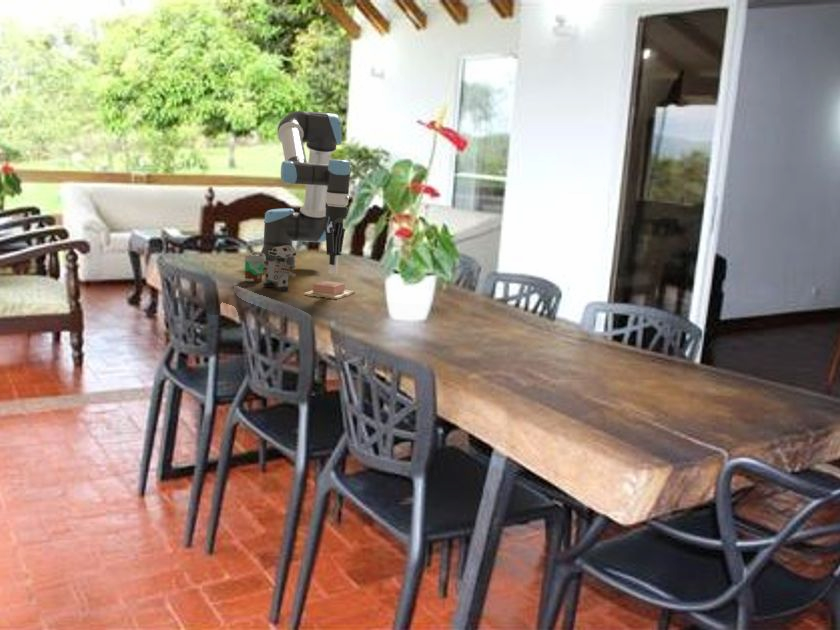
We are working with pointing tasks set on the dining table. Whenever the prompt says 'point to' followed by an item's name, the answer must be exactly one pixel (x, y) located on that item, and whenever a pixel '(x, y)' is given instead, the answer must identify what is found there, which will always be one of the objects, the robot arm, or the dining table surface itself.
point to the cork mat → (345, 293)
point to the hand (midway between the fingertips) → (332, 273)
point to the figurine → (279, 267)
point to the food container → (254, 267)
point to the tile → (328, 288)
